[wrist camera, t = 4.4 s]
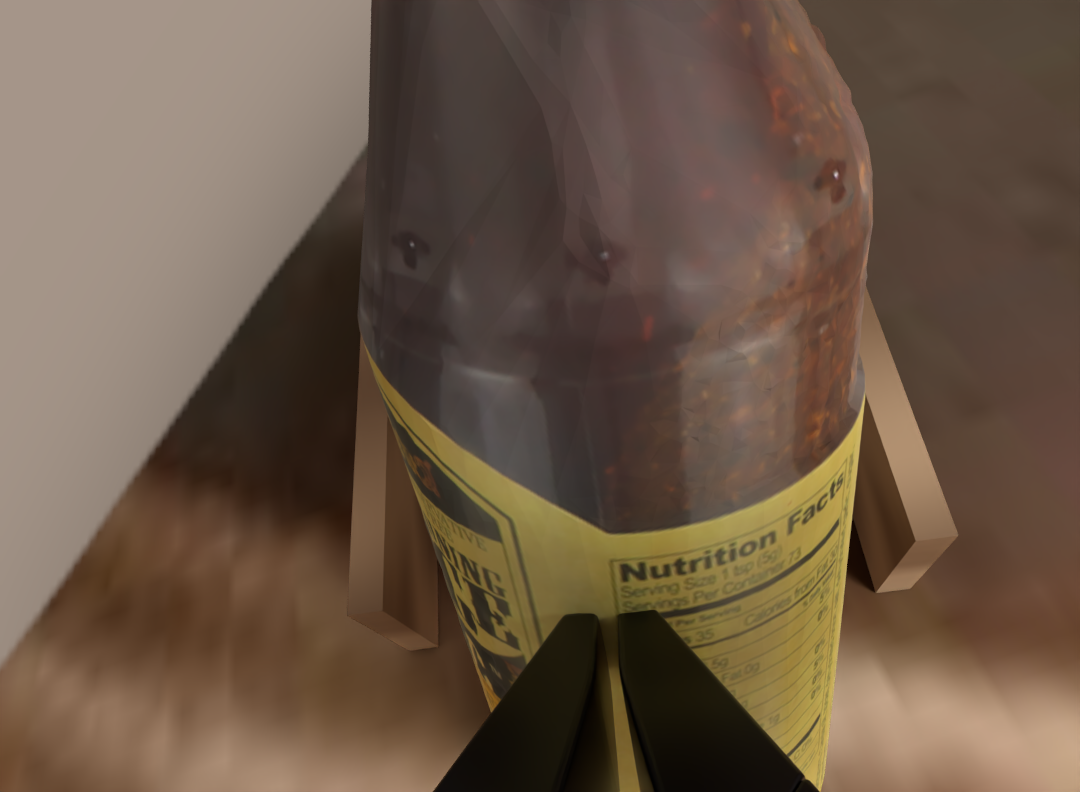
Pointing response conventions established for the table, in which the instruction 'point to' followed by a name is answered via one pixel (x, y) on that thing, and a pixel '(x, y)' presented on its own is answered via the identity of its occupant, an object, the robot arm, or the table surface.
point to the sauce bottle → (625, 328)
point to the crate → (410, 560)
